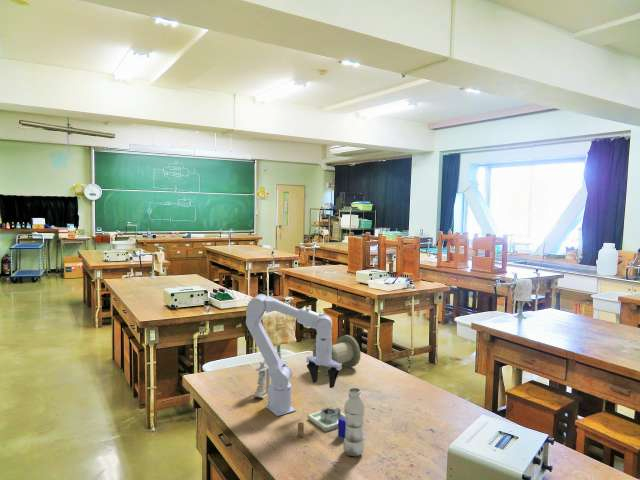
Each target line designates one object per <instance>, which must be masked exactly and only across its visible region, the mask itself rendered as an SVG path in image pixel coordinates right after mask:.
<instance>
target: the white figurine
mask: <svg viewBox="0 0 640 480" xmlns="http://www.w3.org/2000/svg"><path fill="white" fill-rule="evenodd" d="M265 364H267V363H266V361H265V360H262V361H260V362H259V366H257V367H255V371H257V372H258V380H257V382H256V383H257V386H256V391H255V392H254V393H253V394H252V395H251V396H252V397H253V398H257V397H258V399H265V398H266V397H268V395H267V394H268V388H269V386H270V385H271V384H270V383H271V377H270V375H269V369H268V365H266V366H265ZM264 385H265V389H266V390H265V392H264ZM262 392H263V393H262ZM265 396H266V397H265Z"/></svg>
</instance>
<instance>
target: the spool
mask: <svg viewBox="0 0 640 480" xmlns="http://www.w3.org/2000/svg"><path fill="white" fill-rule="evenodd" d="M312 356H313V357H316V344H314V347H313V350H312ZM331 359H332V360H334V361H336V362H338V363H340V364H342V366H344V365H345V366H344V367H346V366H347V367H346V368H353V367H356V366H357V365H358V364H359V362H360V360H361V349H360V345H359V343H358V341H357V340H356V338H354V337H353V336H352V335H349V334H345V335H341V336H340V337H338V338H337V340H336V343H335V344H332V357H331ZM329 369H331V368H330V367H326V366H323V365H320V366H319V368H318V373H319V372H320V374H322V373H323V374H322V375H324V374H325V376H329V374H328V370H329Z"/></svg>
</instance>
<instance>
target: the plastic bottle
mask: <svg viewBox="0 0 640 480" xmlns="http://www.w3.org/2000/svg"><path fill="white" fill-rule="evenodd" d="M361 397H362V395H361V389H360V388H357V387H352V388H349V389H348V399H347V400H346V401H345V403H344V407H343V410H344V415H345V419H346V430H345V438H343V451H344V452H345V454H346V455H348V456H349V457H359V456H361V455H362V454H363V452H364V450H365V439H364V434H363V433H364V431H363V427H364V417H365V412H366V411H365V410H366V407H365V404H364V402H363V400H362V399H361Z"/></svg>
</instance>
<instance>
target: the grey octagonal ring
mask: <svg viewBox="0 0 640 480" xmlns="http://www.w3.org/2000/svg"><path fill="white" fill-rule="evenodd" d="M334 408H335V407H324V408H322V409H321V410H320V411H321V420H320V421H322V422H323V423H326V424H333V423H336V422H337V420H338V418H340V412H341V409H340V408H339V407H336V408H335V409H334Z"/></svg>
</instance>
